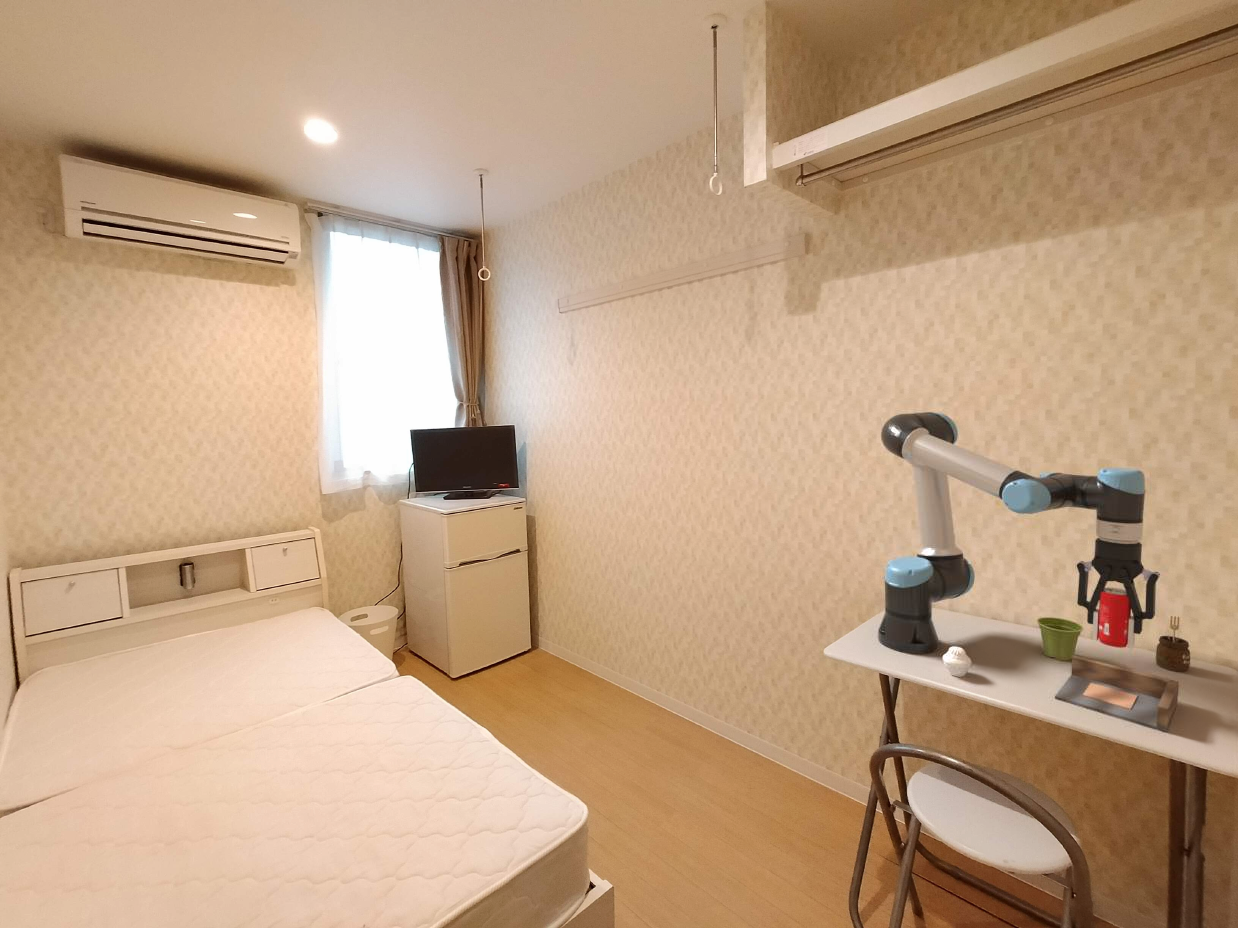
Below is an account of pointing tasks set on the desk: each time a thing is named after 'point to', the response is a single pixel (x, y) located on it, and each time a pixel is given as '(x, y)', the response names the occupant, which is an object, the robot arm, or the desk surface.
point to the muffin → (956, 661)
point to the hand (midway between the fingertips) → (1113, 642)
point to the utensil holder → (1173, 651)
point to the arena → (1121, 693)
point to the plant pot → (1059, 637)
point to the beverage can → (1114, 617)
